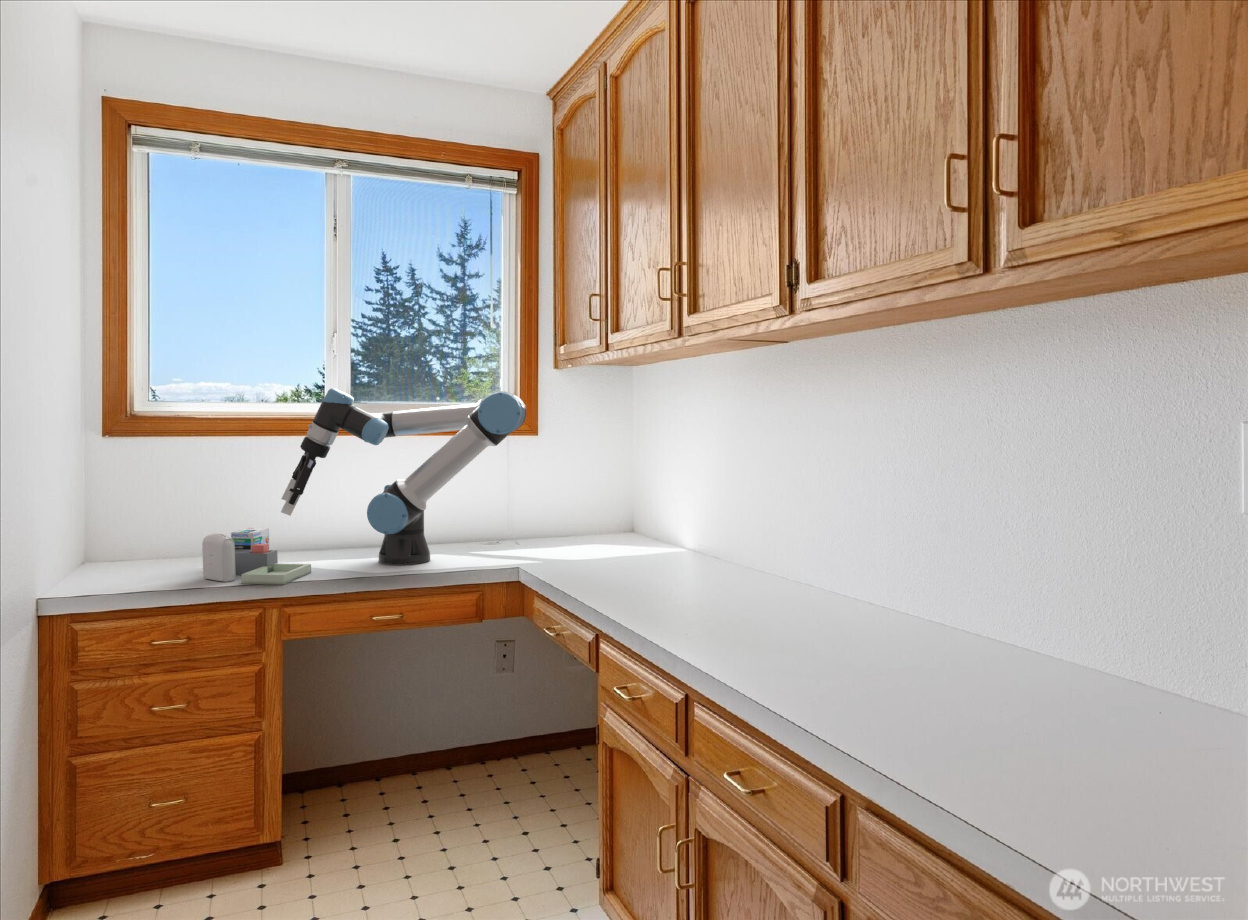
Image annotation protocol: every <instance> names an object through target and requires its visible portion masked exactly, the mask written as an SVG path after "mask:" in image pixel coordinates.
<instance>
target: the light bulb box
mask: <svg viewBox="0 0 1248 920" xmlns="http://www.w3.org/2000/svg"><path fill="white" fill-rule="evenodd" d="M230 538H232V539H233V541H234V543H235V550H252V545H254V544H269V545H270V528H268V527H267V528H266V527H262V528H261V527H260V528H259V527H247V528H242V529H239V530H235V531H233V532H230Z"/></svg>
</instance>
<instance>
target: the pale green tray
mask: <svg viewBox="0 0 1248 920" xmlns="http://www.w3.org/2000/svg"><path fill="white" fill-rule="evenodd" d="M272 565H273V566H272ZM272 565H270V566H271V568H272V570H274V571H272V572H270V573H267V566H263V567H260V568H257V569H255V570H252V571H249V572H246V573H244V574H241V575H240V576H241V584H242V585H283V586H284V585H287V584H289V583H292V582H293V581H296V580H298V579H300V578H303V577H305V576H307V575H309V574H311V573H312V564H311V563H275V564H272ZM270 566H269V567H268V568H269V569H271V568H270ZM269 571H271V570H269ZM269 571H268V572H269Z"/></svg>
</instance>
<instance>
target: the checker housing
mask: <svg viewBox="0 0 1248 920" xmlns="http://www.w3.org/2000/svg"><path fill="white" fill-rule="evenodd" d="M275 563H278V549H277V550H276V549H274V550H273V549H269V552H267V553H252V550H235V571H236V576H241V574H244V573H246V572H249V571H252V570H255V569H257V568H260V567H263V566H267V573H270V572H272V571H274V570H272V568H271V566H270V565H272V564H275ZM269 566H270V568H271V569H269V568H268V567H269ZM272 566H273V565H272ZM269 570H271V571H269ZM268 571H269V572H268Z"/></svg>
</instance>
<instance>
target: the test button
mask: <svg viewBox="0 0 1248 920" xmlns="http://www.w3.org/2000/svg"><path fill="white" fill-rule="evenodd" d="M269 550H270V543H269V544H254V545H252V553H267V552H269Z"/></svg>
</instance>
